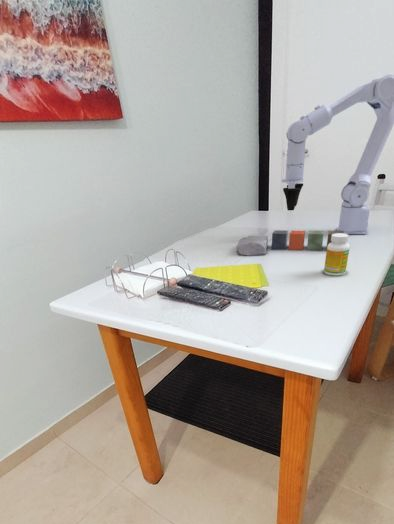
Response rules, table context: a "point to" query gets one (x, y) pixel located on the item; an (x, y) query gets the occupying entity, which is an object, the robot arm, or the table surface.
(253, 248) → the stone block
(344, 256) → the supplement bottle
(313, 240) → the block row
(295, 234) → the terracotta block
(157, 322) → the table surface
